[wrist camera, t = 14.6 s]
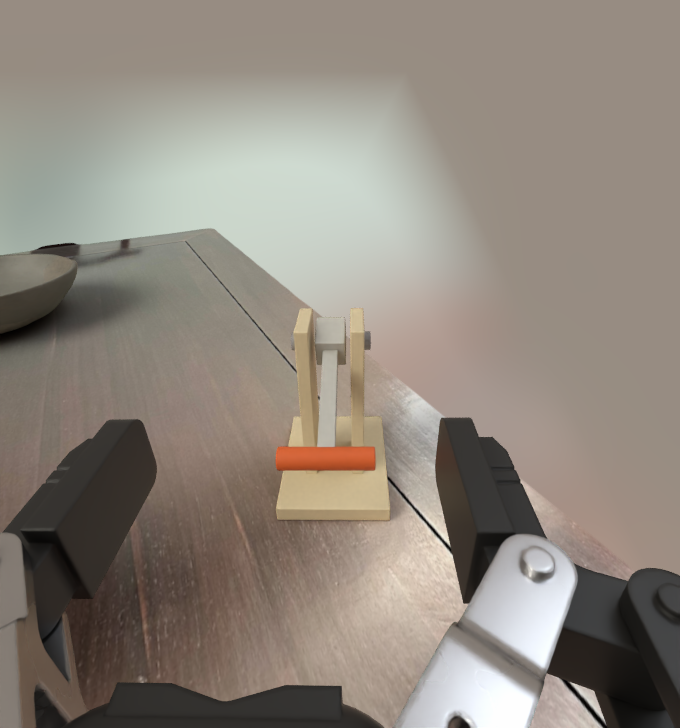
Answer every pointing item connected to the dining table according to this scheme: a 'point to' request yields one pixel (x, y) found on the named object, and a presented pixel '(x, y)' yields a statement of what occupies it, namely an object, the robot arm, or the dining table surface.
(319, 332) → the lever
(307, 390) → the bracket
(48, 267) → the bowl
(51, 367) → the dining table surface
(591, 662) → the robot arm
